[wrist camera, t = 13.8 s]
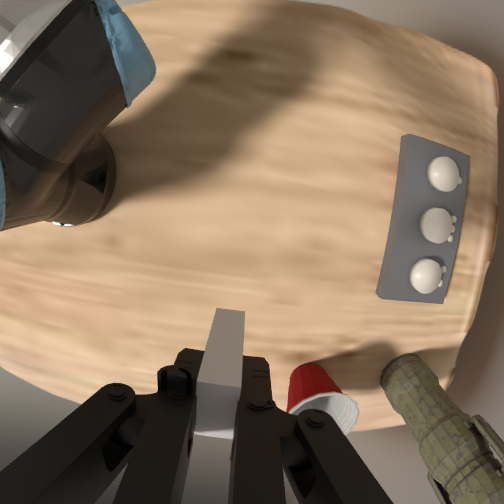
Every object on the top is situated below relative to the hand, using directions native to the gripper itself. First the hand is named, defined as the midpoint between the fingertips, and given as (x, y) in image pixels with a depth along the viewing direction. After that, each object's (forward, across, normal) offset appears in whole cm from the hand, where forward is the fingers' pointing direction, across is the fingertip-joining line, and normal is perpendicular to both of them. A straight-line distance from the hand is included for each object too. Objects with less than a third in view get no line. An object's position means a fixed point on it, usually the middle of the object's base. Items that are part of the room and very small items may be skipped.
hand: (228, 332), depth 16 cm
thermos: (+27, +31, -20) cm, 45 cm away
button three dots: (+26, +27, +7) cm, 38 cm away
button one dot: (+26, +27, +15) cm, 40 cm away
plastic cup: (+27, +13, -20) cm, 36 cm away
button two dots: (+26, +27, 0) cm, 37 cm away
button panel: (+26, +27, +7) cm, 38 cm away
